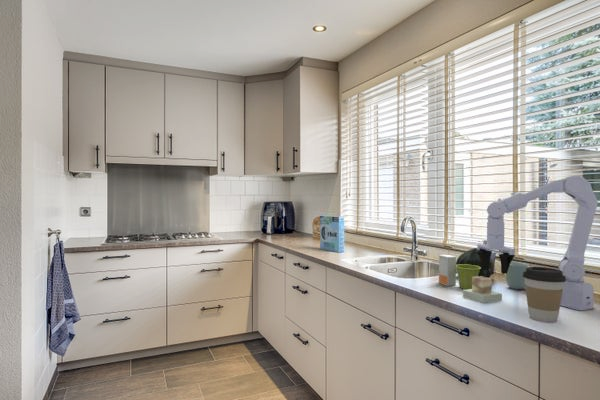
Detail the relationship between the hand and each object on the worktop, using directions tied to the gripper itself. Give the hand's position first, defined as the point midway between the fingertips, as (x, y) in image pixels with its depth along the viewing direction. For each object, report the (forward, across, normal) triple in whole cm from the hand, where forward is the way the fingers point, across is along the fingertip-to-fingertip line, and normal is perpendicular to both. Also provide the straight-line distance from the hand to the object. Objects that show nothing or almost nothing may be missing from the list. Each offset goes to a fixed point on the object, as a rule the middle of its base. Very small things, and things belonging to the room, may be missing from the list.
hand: (495, 271), depth 143 cm
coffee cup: (+10, +24, -8) cm, 27 cm away
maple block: (+7, 0, -6) cm, 9 cm away
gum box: (+9, -125, +1) cm, 125 cm away
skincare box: (+9, -22, -1) cm, 24 cm away
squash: (+10, -25, +18) cm, 32 cm away
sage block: (+10, 0, -6) cm, 12 cm away
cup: (+10, -6, +20) cm, 23 cm away
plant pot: (+10, -14, +2) cm, 17 cm away
